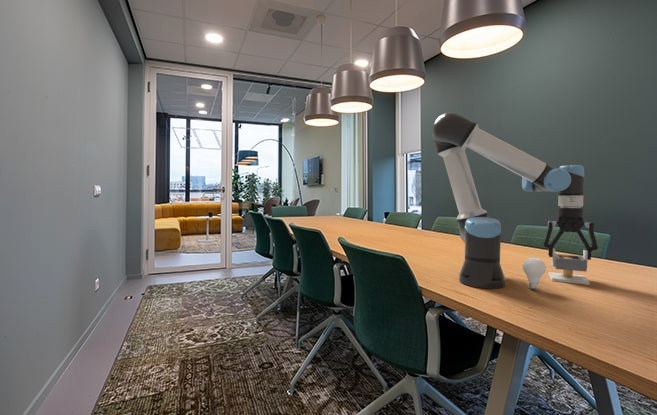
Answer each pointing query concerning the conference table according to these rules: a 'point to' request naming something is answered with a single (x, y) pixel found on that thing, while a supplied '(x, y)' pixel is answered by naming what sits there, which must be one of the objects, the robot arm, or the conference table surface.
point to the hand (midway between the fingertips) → (568, 266)
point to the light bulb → (534, 271)
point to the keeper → (568, 277)
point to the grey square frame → (570, 262)
